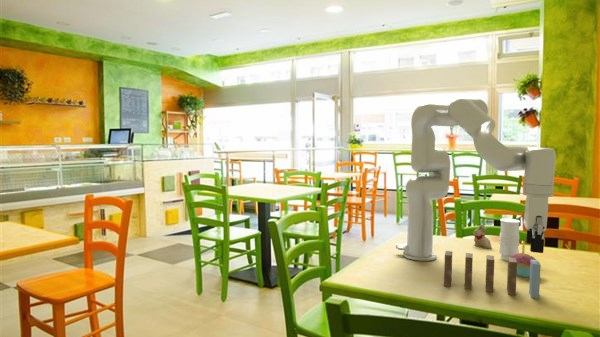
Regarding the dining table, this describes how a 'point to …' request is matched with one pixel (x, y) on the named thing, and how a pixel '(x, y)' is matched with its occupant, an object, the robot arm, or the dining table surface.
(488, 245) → the chocolate bunny
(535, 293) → the domino
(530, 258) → the cupcake
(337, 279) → the dining table surface
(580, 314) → the dining table surface
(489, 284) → the domino
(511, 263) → the domino
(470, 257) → the domino
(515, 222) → the candle
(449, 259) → the domino
